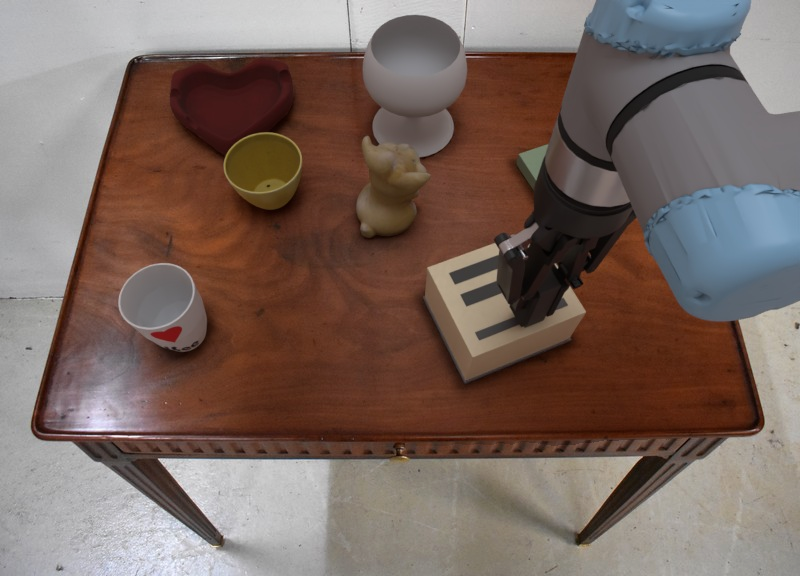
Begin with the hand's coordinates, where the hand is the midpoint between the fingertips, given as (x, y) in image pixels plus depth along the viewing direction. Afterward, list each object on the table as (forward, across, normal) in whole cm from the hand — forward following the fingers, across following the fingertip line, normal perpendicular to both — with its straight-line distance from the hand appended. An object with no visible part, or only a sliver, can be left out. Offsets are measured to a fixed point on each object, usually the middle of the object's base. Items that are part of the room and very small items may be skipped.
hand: (531, 310), depth 64 cm
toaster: (+10, +1, -4) cm, 10 cm away
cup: (+10, +37, -17) cm, 42 cm away
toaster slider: (+1, 0, 0) cm, 1 cm away
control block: (+10, -18, -19) cm, 28 cm away
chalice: (+10, -2, -37) cm, 38 cm away
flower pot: (+10, +21, -33) cm, 40 cm away
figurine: (+10, +7, -23) cm, 26 cm away
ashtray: (+10, +22, -48) cm, 54 cm away
